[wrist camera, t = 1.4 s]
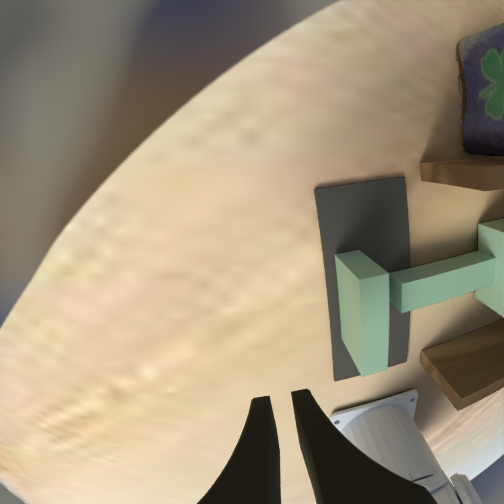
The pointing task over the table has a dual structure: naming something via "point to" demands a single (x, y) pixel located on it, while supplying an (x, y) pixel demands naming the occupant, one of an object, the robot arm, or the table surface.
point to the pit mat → (365, 252)
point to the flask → (482, 92)
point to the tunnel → (481, 340)
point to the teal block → (412, 292)
